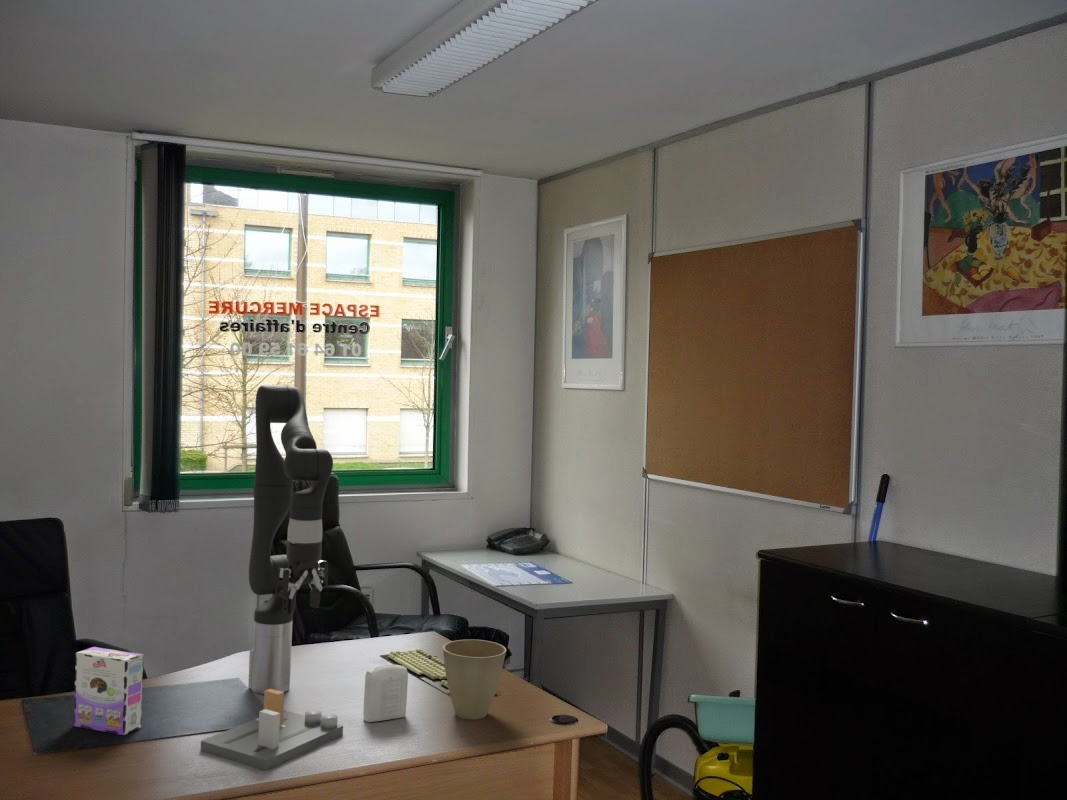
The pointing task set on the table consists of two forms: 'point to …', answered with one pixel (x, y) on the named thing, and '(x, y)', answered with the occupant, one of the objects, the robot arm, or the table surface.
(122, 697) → the candy box
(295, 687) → the table surface
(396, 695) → the photo printer
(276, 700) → the fader cap
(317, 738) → the console
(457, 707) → the plant pot
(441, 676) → the keyboard
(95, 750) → the table surface
